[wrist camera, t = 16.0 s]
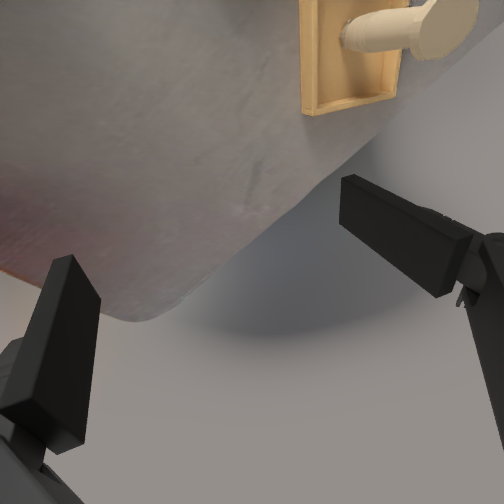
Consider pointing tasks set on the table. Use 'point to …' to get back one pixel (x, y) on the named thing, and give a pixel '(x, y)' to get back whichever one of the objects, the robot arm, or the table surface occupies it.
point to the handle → (413, 29)
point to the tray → (342, 58)
